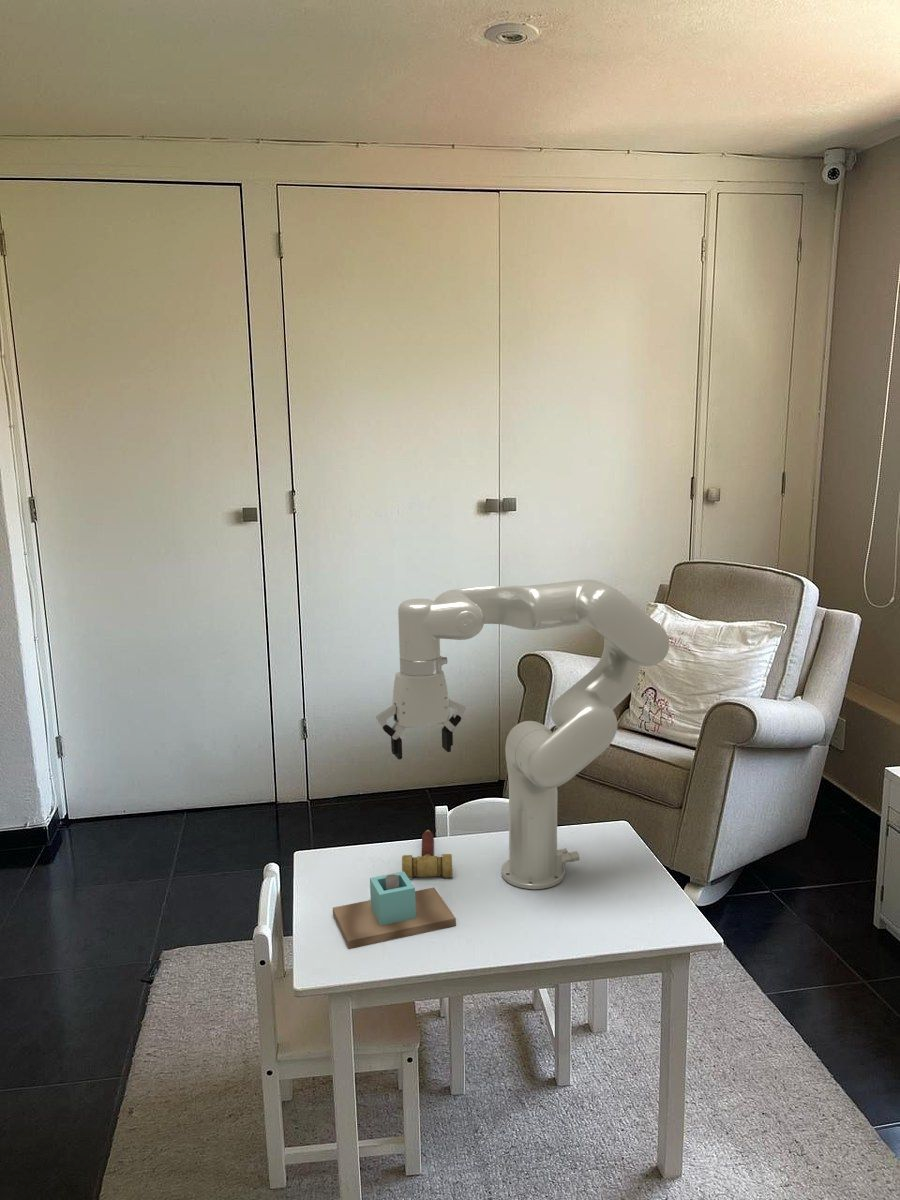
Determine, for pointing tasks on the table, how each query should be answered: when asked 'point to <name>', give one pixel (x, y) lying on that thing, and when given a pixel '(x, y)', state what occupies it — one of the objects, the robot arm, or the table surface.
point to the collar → (392, 899)
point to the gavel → (427, 861)
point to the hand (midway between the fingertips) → (422, 753)
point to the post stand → (366, 929)
